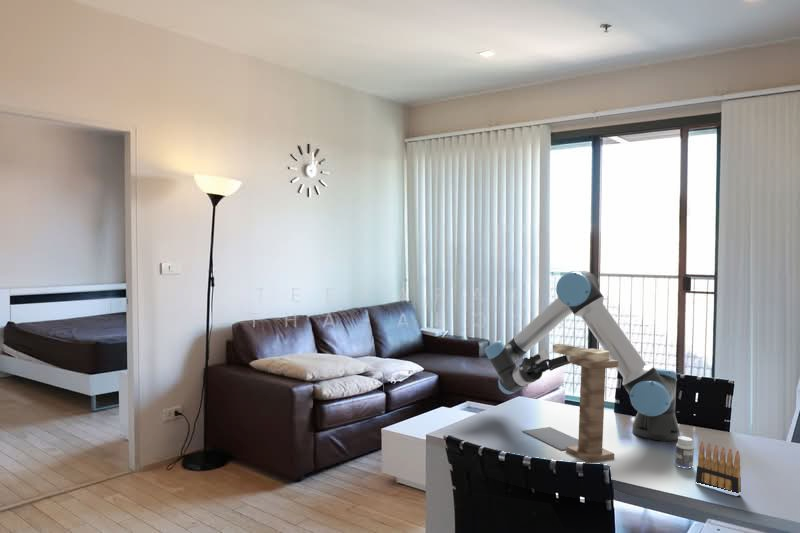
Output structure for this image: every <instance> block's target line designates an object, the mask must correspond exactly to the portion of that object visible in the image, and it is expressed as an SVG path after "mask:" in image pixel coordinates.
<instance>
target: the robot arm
mask: <svg viewBox="0 0 800 533" xmlns="http://www.w3.org/2000/svg"><path fill="white" fill-rule="evenodd" d="M599 283H600V282H599V281H598V279H597V277H596V276H595V275H594V274H593V273H591V272H589V271H586V270H578V271H577V270H572V271H569V272H566V273H565V274H563V275H562V276H561V277H560V278H559V279H558V280H557V283H556V288H555V290H556V291H555V293H556V295H557V297H556V298H555V299H554V300H553V302H551V303H550V304H549V305H548V306H547V307H546V308H545V309H543V310H542V311H541V312H540V313H539V314H538V315H537V316H536V317H535V318H534V319H532V321H530V322H529V323H528V324H527V325H526V326H525V327H524V328H523V329H522V330H520V332H519V333H517V334H516V335H515V336H514V337H513V338H512V339H511V340H510V341H509V342H507V343H506V344H504V343H503V342H502V340H496V341H494V342H493V343H491V344H489V345H488V346H486V347H485V348H484V353H485V354H486V356H487V359H488V360H489V362H490V363H491V364H492V367H493V368H494V370H495V371H496V373H497V376H498V377H499V378H498V380H497V384H498V388H499V390H500V391H501V392H502V393H504V394H506V395H511V394H514V393H516V392H519V391H520V390H522V389H524V388H528V386H529V385H531V384H533V383H535V382H536V381H538V380H540V379H541V378H542V376H543V373H545V372H546V371H554V370H557V369H558V368H561V367H564V366H566V365H569V364H571V363H570V357H571V356H570V355H565V354H563V355H560V356H559V357H555V358H551V359H550V355H549V352H548V349H547V348H544V349H543V350H541V351H539V352H538V353H536V354H534V355H533V356H529V358H528V357H524V356H525V355H526V354H527V353H528V352H529V351H530V350H531V349H532V348H533V347H534V346H536V345H537V344H538V343H539V342H540V341H541V340H542V339H544V338H545V337H546V336H547V335H548V334H549V333H550V332H552V331H553V329H555V328H556V327H557V326H559V324H561V323H562V322H563V321H564V320H565V319H567V318H568V317H569V315H571V314H572V313H573V315H574V316H575V317H579V318H581V319H582V320H583V322H584V323H585V325H586V326H587V328H588V329H589V330H590V332H591V333H592V335H593V336H594V338H595V339H596V340H597V342H598V343H599V345H600V347H602V350H605V351H610V353H609V359H613V360H617V361H618V367H616V368H615V369H616V370H617V371H618V372H619V374H620V375H621V377H622V384H621V385H622V386H623V387H624V389H625V390H626V392H627V393H628V395H629V399H630V403H631V405H632V407H633V408H634V409H635V410H636V411H637V413H636V415H635V418H634V420H633V423H632V428H631V430H632V433H633V434H634V435H636V436H638V437H641V438H645V439H648V440H654V441H662V442H663V441H664V442H671V441H673V440H674V441H677V440H676V439H678V437H679V436H681V435H680V434H681V431H680V427H679V423H678V420H677V417H676V398H677V396H676V395H677V382H678V378H677V373H676V372H675V370H671V369H664V368H657V367H655V366H653V365H651V364H647V363H646V362H645V361H644V359H643V358H642V356H641V355H640V353H639V352H638V351H637V349H636V348H635V347H634V345H633V344H632V343H631V341H630V340H629V338H628V336H627V335H626V334H625V333H624V331H623V330H622V329H621V327H620V325H619V324H618V322H617V321H616V320H615V319H614V317H613V316H612V315H611V313H610V311H609V310H608V308H606V306H605V305H604V299H605V297H604V295H603V294H602V293H601V291H600V284H599ZM521 359H522V362H521V364H519V365H516V362H519V361H521Z"/></svg>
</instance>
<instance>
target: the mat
mask: <svg viewBox="0 0 800 533" xmlns="http://www.w3.org/2000/svg"><path fill="white" fill-rule="evenodd" d="M521 432H522V433H525V434H527V436H528V435H529V436H530V437H533V438H535V439H537V440H538V441H541V442H543V443H545V444H546V445H548V446H551V447H552V448H555V449H557V450H559V451H560V452H562V451H566V447H568V446H575V445H578V440H579V438H576V437H574V436H571V435H570V434H567V433H564V432H562V431H561V430H558V429H556V428H553V427H551V426H548V427H547V426H546V427H539V428H533V429H532V428H531V429H525V430H524V429H523V430H522V431H521Z"/></svg>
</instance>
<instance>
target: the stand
mask: <svg viewBox="0 0 800 533" xmlns="http://www.w3.org/2000/svg"><path fill="white" fill-rule="evenodd" d="M569 364H572V365H576V366H580V390H579V392H580V393H579V416H578V420H579V421H578V424H579V425H578V445H575V446H568V447H566V450H565V452H566V453H569V454H570V455H572V456H575V457H577V458H579V459H581V460H583V461H585V462H587V463H589V462H590V463H594V462H595V463H597V462H599V461H600V462H601V461H607V460H613V459H615V453H614V452H612V451H610V450H607V449H606V448H603V443H604V442H603V441H604V439H603V438H604V437H603V436H604V420H605V419H604V415H605V414H604V413H605V390H606V389H605V387H606V386H605V385H606V369H612V368H615V369H617V368H616V367H618V361H617V360H613V359H610V358H609V359H608V360H603V361H598V362H596V361H591V360H585V359H580V358H579V357H576V356H571V357H570V363H569Z"/></svg>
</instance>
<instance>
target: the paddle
mask: <svg viewBox="0 0 800 533" xmlns="http://www.w3.org/2000/svg"><path fill="white" fill-rule="evenodd" d="M552 353H555V354H559V355H570V356H576V357H579V358H580V359H585V360H591V361H596V362H598V361H603V360H608V359H610V358H609V353H610V351H605V350H604V349H598V348H584V347H580V346H573V345H568V344H561V343H553V344H552Z"/></svg>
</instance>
